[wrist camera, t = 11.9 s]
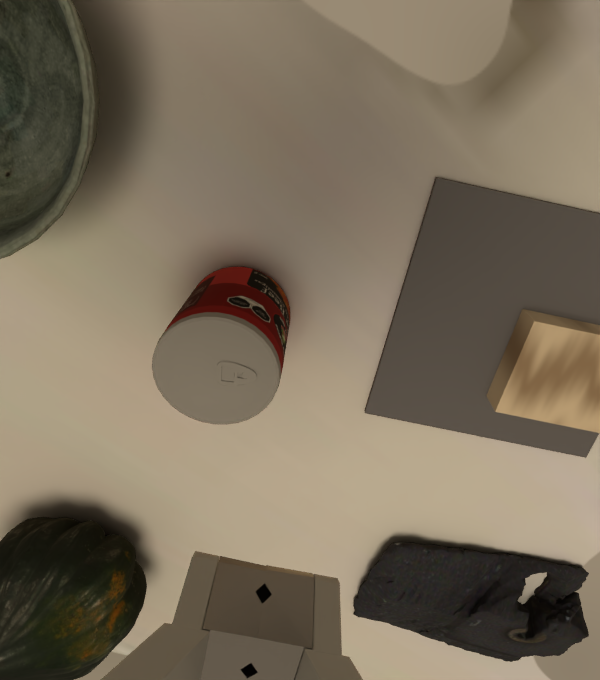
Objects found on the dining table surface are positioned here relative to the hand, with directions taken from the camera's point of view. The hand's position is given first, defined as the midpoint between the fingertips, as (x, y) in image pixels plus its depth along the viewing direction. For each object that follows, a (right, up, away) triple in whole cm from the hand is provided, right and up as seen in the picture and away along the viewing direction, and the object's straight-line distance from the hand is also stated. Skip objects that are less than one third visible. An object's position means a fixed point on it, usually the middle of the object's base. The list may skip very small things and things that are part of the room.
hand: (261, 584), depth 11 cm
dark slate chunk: (+18, -21, +44) cm, 52 cm away
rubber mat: (+18, +6, +31) cm, 36 cm away
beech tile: (+17, +3, +30) cm, 35 cm away
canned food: (-4, +8, +31) cm, 32 cm away
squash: (-22, -17, +43) cm, 51 cm away
